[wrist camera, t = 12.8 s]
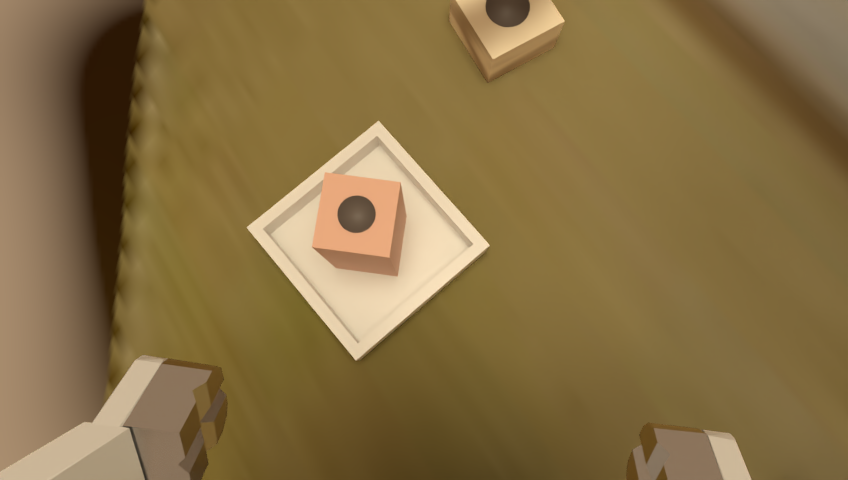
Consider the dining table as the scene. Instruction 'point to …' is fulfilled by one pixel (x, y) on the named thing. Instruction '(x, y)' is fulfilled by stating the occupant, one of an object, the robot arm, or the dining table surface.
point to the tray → (361, 291)
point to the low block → (505, 31)
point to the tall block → (360, 223)
